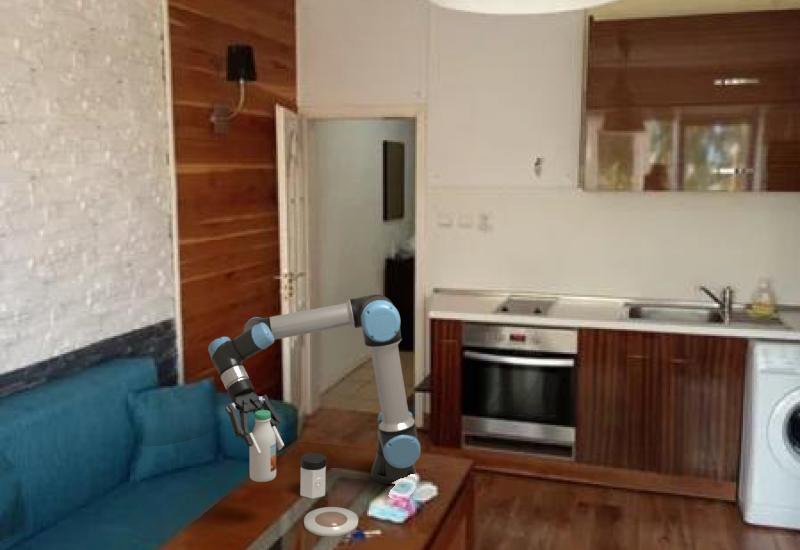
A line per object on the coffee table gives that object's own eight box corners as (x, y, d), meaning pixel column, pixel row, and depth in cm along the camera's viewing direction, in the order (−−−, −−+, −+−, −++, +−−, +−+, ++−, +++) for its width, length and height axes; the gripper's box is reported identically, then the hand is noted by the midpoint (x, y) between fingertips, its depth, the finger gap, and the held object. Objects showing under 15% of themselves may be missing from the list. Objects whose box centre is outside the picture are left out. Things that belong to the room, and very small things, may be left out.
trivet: (354, 509, 236) (354, 505, 236) (361, 534, 221) (361, 530, 220) (302, 512, 233) (302, 508, 233) (305, 538, 218) (305, 533, 218)
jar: (306, 501, 241) (306, 464, 239) (294, 491, 247) (295, 455, 246) (331, 494, 246) (332, 459, 244) (319, 485, 252) (320, 450, 251)
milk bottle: (264, 485, 220) (263, 418, 217) (244, 478, 224) (243, 413, 221) (281, 475, 226) (281, 411, 223) (262, 469, 230) (261, 405, 227)
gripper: (261, 384, 239) (292, 448, 231) (203, 398, 225) (234, 466, 216) (271, 371, 235) (303, 436, 226) (212, 384, 221) (245, 454, 212)
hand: (269, 451), depth 221 cm, fingers closed on milk bottle, 7 cm apart
